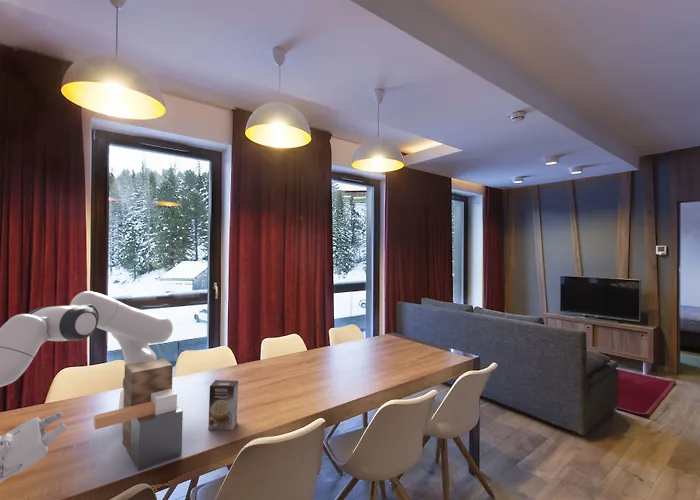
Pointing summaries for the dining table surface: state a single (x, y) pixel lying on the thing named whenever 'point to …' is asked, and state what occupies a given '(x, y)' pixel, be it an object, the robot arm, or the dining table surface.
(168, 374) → the tall wood-grain pillar
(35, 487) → the dining table surface
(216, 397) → the coffee box
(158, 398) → the wooden handled mallet
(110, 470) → the dining table surface
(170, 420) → the block
